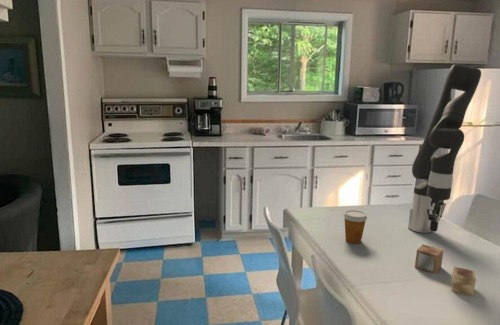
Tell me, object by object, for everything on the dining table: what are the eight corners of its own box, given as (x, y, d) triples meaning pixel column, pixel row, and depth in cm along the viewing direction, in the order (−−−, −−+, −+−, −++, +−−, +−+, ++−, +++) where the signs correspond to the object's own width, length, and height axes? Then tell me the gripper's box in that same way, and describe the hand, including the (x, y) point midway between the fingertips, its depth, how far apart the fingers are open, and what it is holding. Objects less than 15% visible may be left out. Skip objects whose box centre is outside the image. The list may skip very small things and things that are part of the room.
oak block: (451, 291, 119) (454, 273, 118) (451, 283, 125) (453, 265, 123) (473, 296, 117) (476, 278, 116) (472, 287, 122) (474, 270, 121)
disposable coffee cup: (366, 238, 160) (368, 211, 158) (363, 246, 152) (365, 218, 149) (344, 234, 164) (346, 208, 162) (339, 242, 155) (341, 214, 153)
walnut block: (421, 261, 140) (414, 267, 135) (423, 243, 139) (416, 249, 133) (441, 267, 135) (435, 274, 130) (443, 249, 134) (437, 255, 129)
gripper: (434, 179, 139) (428, 223, 143) (422, 185, 130) (415, 232, 133) (457, 183, 134) (450, 228, 138) (445, 190, 124) (438, 238, 128)
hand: (433, 230), depth 135 cm, fingers closed
